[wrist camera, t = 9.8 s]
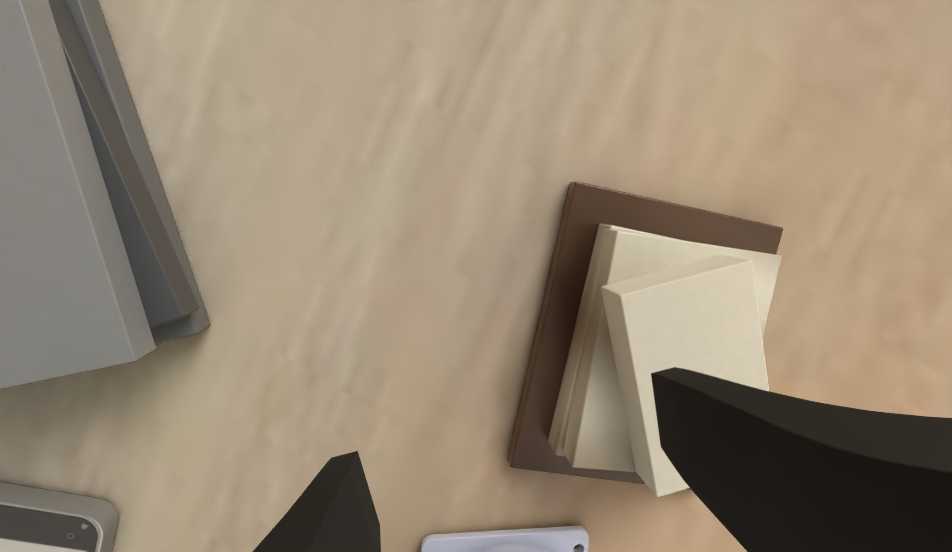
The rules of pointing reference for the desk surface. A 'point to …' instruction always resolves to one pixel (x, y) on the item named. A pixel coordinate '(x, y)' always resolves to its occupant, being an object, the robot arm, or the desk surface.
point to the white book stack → (586, 328)
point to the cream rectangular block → (681, 343)
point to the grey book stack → (80, 205)
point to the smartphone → (54, 521)
